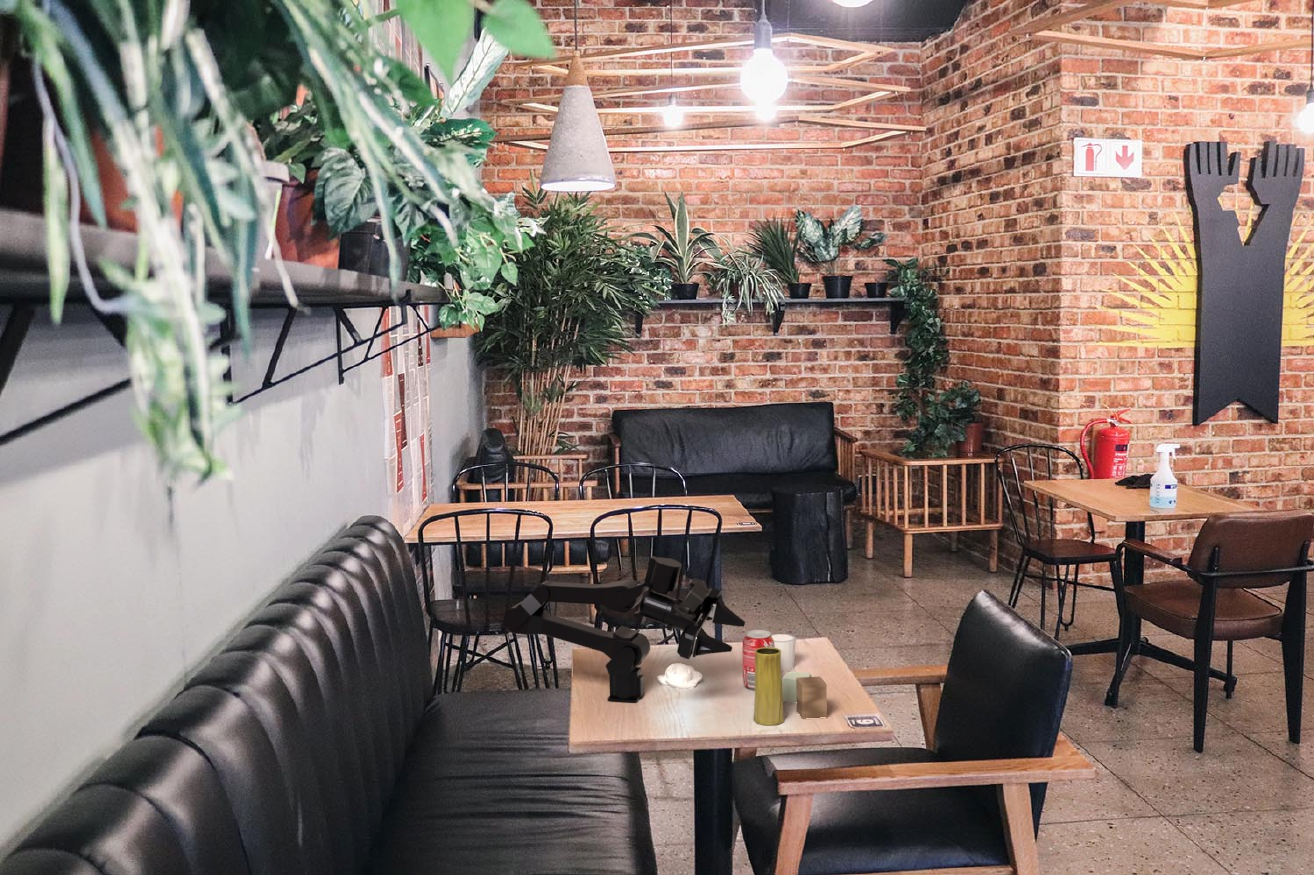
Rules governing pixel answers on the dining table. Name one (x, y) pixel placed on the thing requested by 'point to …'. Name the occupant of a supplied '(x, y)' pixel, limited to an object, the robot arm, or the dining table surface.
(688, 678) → the rose
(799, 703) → the walnut block
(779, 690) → the vase
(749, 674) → the soda can
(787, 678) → the sage block
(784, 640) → the white cup
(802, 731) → the dining table surface
